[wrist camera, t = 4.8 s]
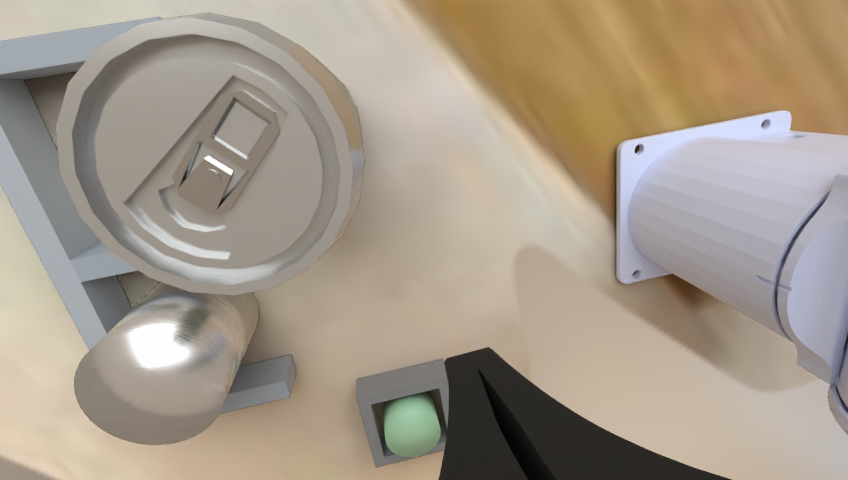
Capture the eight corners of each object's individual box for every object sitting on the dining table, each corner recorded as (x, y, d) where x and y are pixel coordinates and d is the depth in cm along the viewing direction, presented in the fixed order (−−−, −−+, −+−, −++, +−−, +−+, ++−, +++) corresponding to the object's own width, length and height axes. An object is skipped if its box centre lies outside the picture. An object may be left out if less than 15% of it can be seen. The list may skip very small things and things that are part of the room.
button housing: (442, 359, 24) (448, 376, 22) (454, 425, 26) (460, 446, 24) (356, 379, 23) (356, 398, 22) (374, 445, 25) (375, 467, 24)
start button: (430, 383, 24) (436, 406, 22) (438, 423, 25) (444, 449, 23) (378, 395, 23) (380, 420, 22) (388, 436, 24) (390, 463, 23)
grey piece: (182, 25, 17) (158, 16, 15) (296, 369, 23) (290, 397, 21) (-17, 57, 16) (-72, 51, 14) (154, 402, 22) (134, 434, 20)
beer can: (277, 30, 17) (131, -84, 6) (383, 111, 19) (422, 137, 8) (212, 138, 18) (-16, 209, 7) (319, 205, 20) (271, 349, 9)
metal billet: (241, 255, 20) (197, 318, 15) (271, 341, 22) (242, 426, 16) (134, 277, 20) (47, 350, 14) (173, 363, 22) (109, 458, 16)
